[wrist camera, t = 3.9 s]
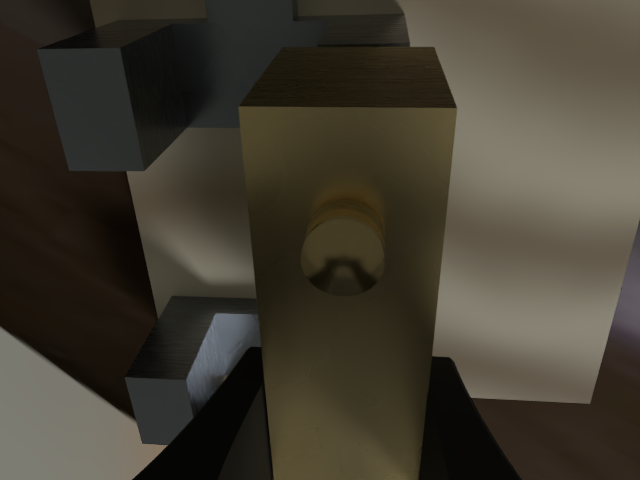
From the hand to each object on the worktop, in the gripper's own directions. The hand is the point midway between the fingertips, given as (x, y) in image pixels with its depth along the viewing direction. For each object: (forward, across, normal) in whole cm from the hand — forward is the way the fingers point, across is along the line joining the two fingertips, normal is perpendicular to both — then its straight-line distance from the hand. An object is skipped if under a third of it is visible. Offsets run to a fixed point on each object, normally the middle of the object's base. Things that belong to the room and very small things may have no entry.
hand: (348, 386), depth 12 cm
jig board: (+9, 0, 0) cm, 9 cm away
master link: (+3, 0, 0) cm, 3 cm away
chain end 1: (+8, +3, -5) cm, 10 cm away
